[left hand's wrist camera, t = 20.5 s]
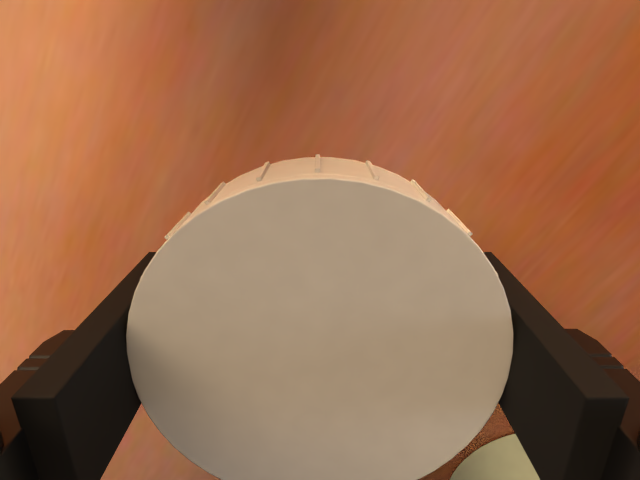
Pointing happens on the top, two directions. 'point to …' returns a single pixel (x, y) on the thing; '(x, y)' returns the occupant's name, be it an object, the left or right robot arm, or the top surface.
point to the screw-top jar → (497, 462)
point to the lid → (319, 328)
